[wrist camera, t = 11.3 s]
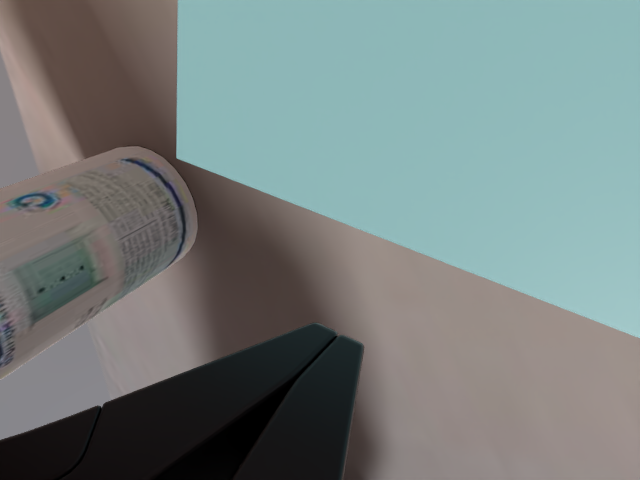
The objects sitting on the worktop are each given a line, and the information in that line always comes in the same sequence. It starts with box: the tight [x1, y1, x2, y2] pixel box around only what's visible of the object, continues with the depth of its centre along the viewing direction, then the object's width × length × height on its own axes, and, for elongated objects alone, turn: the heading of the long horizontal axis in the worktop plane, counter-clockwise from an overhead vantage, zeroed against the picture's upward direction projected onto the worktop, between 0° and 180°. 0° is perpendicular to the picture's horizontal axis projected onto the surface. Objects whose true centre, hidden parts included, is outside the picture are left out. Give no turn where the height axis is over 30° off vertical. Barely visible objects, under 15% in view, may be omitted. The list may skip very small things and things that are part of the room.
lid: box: [176, 0, 640, 338], centre depth 13 cm, size 8×18×1 cm, turn 82°
